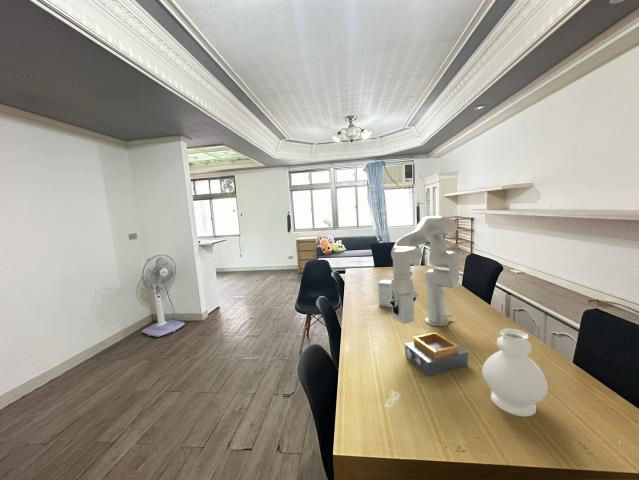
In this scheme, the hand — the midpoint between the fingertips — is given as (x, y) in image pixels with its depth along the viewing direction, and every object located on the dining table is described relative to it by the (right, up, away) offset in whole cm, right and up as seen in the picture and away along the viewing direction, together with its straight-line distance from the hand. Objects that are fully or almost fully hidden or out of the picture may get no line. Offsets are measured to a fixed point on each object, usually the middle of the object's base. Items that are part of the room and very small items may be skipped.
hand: (403, 312), depth 125 cm
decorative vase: (+27, -22, -34) cm, 49 cm away
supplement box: (+9, -12, +63) cm, 65 cm away
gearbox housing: (+12, -20, -7) cm, 24 cm away
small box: (0, -4, +1) cm, 4 cm away
